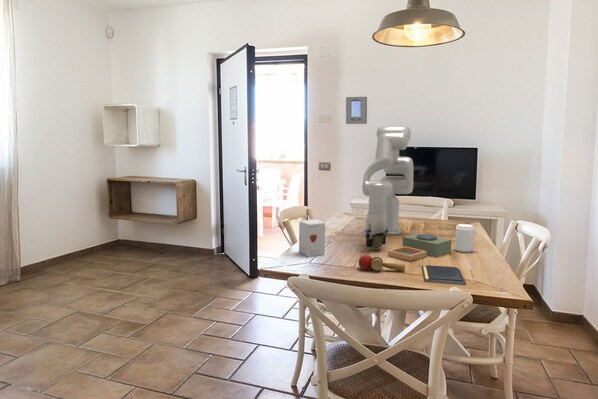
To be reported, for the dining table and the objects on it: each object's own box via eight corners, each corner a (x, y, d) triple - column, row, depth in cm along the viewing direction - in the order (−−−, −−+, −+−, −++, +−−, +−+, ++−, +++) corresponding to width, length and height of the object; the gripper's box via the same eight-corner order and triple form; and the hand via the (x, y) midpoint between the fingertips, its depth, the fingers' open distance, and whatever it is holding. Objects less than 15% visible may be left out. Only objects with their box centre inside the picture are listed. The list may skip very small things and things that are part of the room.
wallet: (467, 282, 148) (422, 278, 152) (466, 287, 148) (422, 283, 152) (460, 265, 167) (421, 263, 171) (460, 270, 168) (421, 267, 171)
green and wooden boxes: (382, 254, 188) (382, 239, 187) (417, 245, 205) (417, 231, 204) (416, 263, 174) (417, 247, 173) (450, 252, 192) (451, 237, 191)
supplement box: (307, 257, 184) (307, 224, 182) (298, 252, 192) (298, 220, 190) (325, 254, 188) (325, 222, 186) (315, 250, 196) (315, 219, 194)
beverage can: (472, 249, 198) (474, 224, 196) (473, 253, 190) (475, 227, 188) (454, 247, 200) (455, 223, 199) (454, 252, 193) (456, 226, 191)
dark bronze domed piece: (383, 252, 192) (384, 235, 190) (367, 251, 193) (368, 235, 192) (383, 248, 199) (384, 232, 198) (368, 247, 200) (368, 231, 199)
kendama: (402, 271, 169) (358, 263, 172) (405, 257, 167) (360, 249, 170) (403, 280, 162) (357, 272, 164) (406, 266, 160) (359, 257, 162)
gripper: (382, 206, 202) (381, 241, 204) (358, 210, 190) (357, 246, 193) (395, 208, 196) (393, 244, 198) (370, 212, 185) (370, 250, 187)
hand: (375, 245), depth 195 cm, fingers open, 9 cm apart
